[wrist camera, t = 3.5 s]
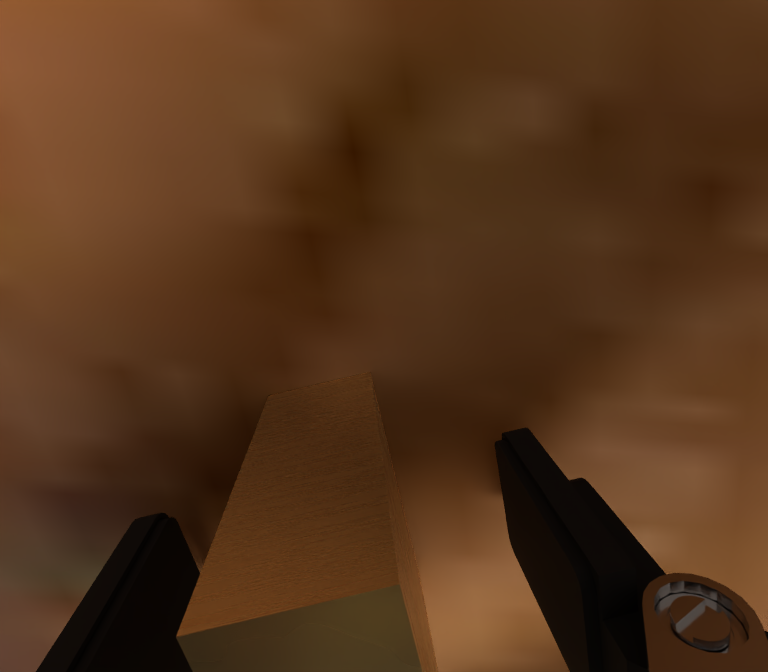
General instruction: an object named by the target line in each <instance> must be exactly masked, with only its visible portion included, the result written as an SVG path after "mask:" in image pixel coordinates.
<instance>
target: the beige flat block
mask: <svg viewBox="0 0 768 672" xmlns="http://www.w3.org/2000/svg"><path fill="white" fill-rule="evenodd" d="M176 638H177V640H178V642H179V644H180V646H181V648H182V650H183V653H184V655H185V657H186V659H187V661H188V663H189V665H190V667H191V669H192V671H193V672H438V669H437V664H436V658H435V653H434V648H433V643H432V638H431V632H430V627H429V622H428V617H427V612H426V606H425V601H424V596H423V591H422V586H421V580H420V575H419V570H418V566H417V562H416V558H415V554H414V550H413V545H412V541H411V537H410V533H409V529H408V525H407V521H406V517H405V512H404V508H403V504H402V500H401V496H400V492H399V488H398V484H397V479H396V475H395V471H394V467H393V463H392V459H391V455H390V451H389V446H388V442H387V438H386V434H385V430H384V426H383V422H382V418H381V413H380V409H379V405H378V401H377V397H376V393H375V389H374V384H373V380H372V376H371V372H367V373H363V374H359V375H354V376H350V377H346V378H341V379H337V380H333V381H328V382H324V383H320V384H315V385H311V386H307V387H302V388H298V389H294V390H289V391H285V392H281V393H276V394H272V395H269V396H268V398H267V401H266V404H265V406H264V409H263V411H262V414H261V417H260V419H259V422H258V425H257V427H256V430H255V432H254V435H253V438H252V440H251V443H250V445H249V448H248V451H247V453H246V456H245V458H244V461H243V464H242V466H241V469H240V471H239V474H238V477H237V479H236V482H235V484H234V487H233V490H232V492H231V495H230V498H229V500H228V503H227V505H226V508H225V511H224V513H223V516H222V518H221V521H220V524H219V526H218V529H217V531H216V534H215V537H214V539H213V542H212V544H211V547H210V550H209V552H208V555H207V557H206V560H205V563H204V565H203V568H202V570H201V573H200V576H199V578H198V581H197V584H196V586H195V589H194V591H193V594H192V597H191V599H190V602H189V604H188V607H187V610H186V612H185V615H184V617H183V620H182V623H181V625H180V628H179V630H178V633H177V636H176Z"/></svg>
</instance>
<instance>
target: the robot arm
mask: <svg viewBox="0 0 768 672" xmlns="http://www.w3.org/2000/svg"><path fill="white" fill-rule="evenodd" d="M495 450H496V457H497V463H498V469H499V476H500V482H501V489H502V495H503V501H504V508H505V514H506V521H507V527H508V533H509V539H510V542H511V546H512V548H513V551H514V554H515V556H516V558H517V560H518V562H519V564H520V566H521V568H522V571H523V573H524V575H525V577H526V579H527V581H528V583H529V585H530V588H531V590H532V592H533V594H534V596H535V598H536V600H537V603H538V605H539V607H540V609H541V611H542V613H543V615H544V617H545V620H546V622H547V624H548V626H549V628H550V630H551V632H552V634H553V637H554V639H555V641H556V643H557V645H558V647H559V649H560V651H561V654H562V656H563V658H564V660H565V662H566V664H567V666H568V668H569V671H570V672H768V632H766V631H764V629H763V626H762V624H761V622H760V620H759V618H758V616H757V615H756V613H755V611H754V610H753V609H752V608H751V607H750V606H749V605H748V603H747V602H746V601H745V600H744V599H743V598H742V597H741V596H739V595H738V594H736V593H735V592H733V591H732V590H730V589H729V588H728V587H726V586H724V585H722V584H720V583H718V582H716V581H713V580H711V579H709V578H706V577H702V576H698V575H694V574H687V573H672V574H667V575H666V574H665V573H664V571H663V570H662V569H661V568H660V567H659V565H658V564H657V563H656V562H655V561H654V559H653V558H652V557H651V556H650V555H649V554H648V552H647V551H646V550H645V549H644V548H643V546H642V545H641V544H640V543H639V542H638V540H637V539H636V538H635V537H634V536H633V535H632V533H631V532H630V531H629V530H628V529H627V527H626V526H625V525H624V524H623V523H622V521H621V520H620V519H619V518H618V517H617V516H616V514H615V513H614V512H613V511H612V510H611V508H610V507H609V506H608V505H607V504H606V502H605V501H604V500H603V499H602V498H601V497H600V495H599V494H598V493H597V492H596V491H595V489H594V488H593V487H592V486H591V485H590V484H589V483H588V482H587V481H586V480H585V479H583V478H578V479H574V480H568V479H567V478H566V476H565V475H564V474H563V472H562V471H561V470H560V469H559V467H558V466H557V465H556V463H555V462H554V461H553V460H552V458H551V457H550V456H549V454H548V453H547V452H546V451H545V449H544V448H543V447H542V445H541V444H540V443H539V442H538V440H537V439H536V438H535V436H534V435H533V434H532V433H531V431H530V430H529V429H528V428H522V429H518V430H513V431H509V432H505V433H502V440H500V441H495ZM199 576H200V572H199V570H198V568H197V565H196V563H195V561H194V559H193V556H192V554H191V552H190V550H189V547H188V545H187V543H186V540H185V538H184V536H183V534H182V531H181V529H180V527H179V525H178V522H177V521H176V519H175V518H173V517H171V518H169V517H168V515H166V514H165V513H158V514H154V515H150V516H146V517H141V518H138V519H135V520H134V521H133V522H132V524H131V525H130V527H129V528H128V530H127V532H126V533H125V535H124V536H123V538H122V539H121V541H120V542H119V544H118V545H117V547H116V549H115V550H114V552H113V553H112V555H111V556H110V558H109V559H108V561H107V563H106V564H105V566H104V567H103V569H102V570H101V572H100V573H99V575H98V576H97V578H96V580H95V581H94V583H93V584H92V586H91V587H90V589H89V590H88V592H87V593H86V595H85V597H84V598H83V600H82V601H81V603H80V604H79V606H78V607H77V609H76V611H75V612H74V614H73V615H72V617H71V618H70V620H69V621H68V623H67V624H66V626H65V628H64V629H63V631H62V632H61V634H60V635H59V637H58V638H57V640H56V641H55V643H54V645H53V646H52V648H51V649H50V651H49V652H48V654H47V655H46V657H45V658H44V660H43V662H42V663H41V665H40V666H39V668H38V669H37V671H36V672H193V671H192V669H191V667H190V665H189V663H188V661H187V659H186V657H185V655H184V653H183V650H182V648H181V646H180V644H179V642H178V640H177V638H176V636H177V633H178V630H179V628H180V625H181V623H182V620H183V617H184V615H185V612H186V610H187V607H188V604H189V602H190V599H191V597H192V594H193V591H194V589H195V586H196V584H197V581H198V578H199Z"/></svg>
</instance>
